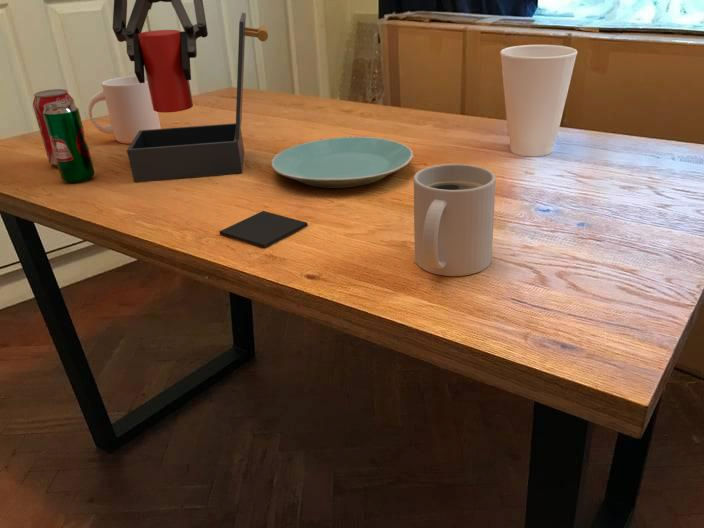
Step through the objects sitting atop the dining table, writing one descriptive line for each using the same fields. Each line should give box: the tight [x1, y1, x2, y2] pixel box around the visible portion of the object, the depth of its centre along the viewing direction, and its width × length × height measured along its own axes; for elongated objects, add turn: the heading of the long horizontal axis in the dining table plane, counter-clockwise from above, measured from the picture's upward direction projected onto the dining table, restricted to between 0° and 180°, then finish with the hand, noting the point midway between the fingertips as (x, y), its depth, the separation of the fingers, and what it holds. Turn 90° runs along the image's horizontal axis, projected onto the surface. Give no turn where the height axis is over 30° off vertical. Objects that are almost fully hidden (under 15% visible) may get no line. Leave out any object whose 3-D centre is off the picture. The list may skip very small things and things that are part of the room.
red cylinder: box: [138, 29, 194, 114], centre depth 100 cm, size 6×6×11 cm
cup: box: [499, 44, 578, 158], centre depth 107 cm, size 12×12×16 cm
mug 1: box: [87, 75, 162, 145], centre depth 123 cm, size 9×12×11 cm
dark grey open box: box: [126, 122, 245, 183], centre depth 108 cm, size 17×12×5 cm
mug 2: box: [413, 163, 497, 277], centre depth 73 cm, size 11×10×10 cm
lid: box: [235, 12, 269, 139], centre depth 104 cm, size 17×12×4 cm
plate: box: [270, 136, 414, 189], centre depth 104 cm, size 22×22×3 cm
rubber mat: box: [219, 210, 308, 249], centre depth 85 cm, size 8×8×1 cm
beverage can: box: [32, 88, 76, 167], centre depth 111 cm, size 6×6×12 cm
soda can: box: [43, 101, 96, 184], centre depth 103 cm, size 5×5×12 cm
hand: (163, 75), depth 97 cm, fingers closed on red cylinder, 6 cm apart
